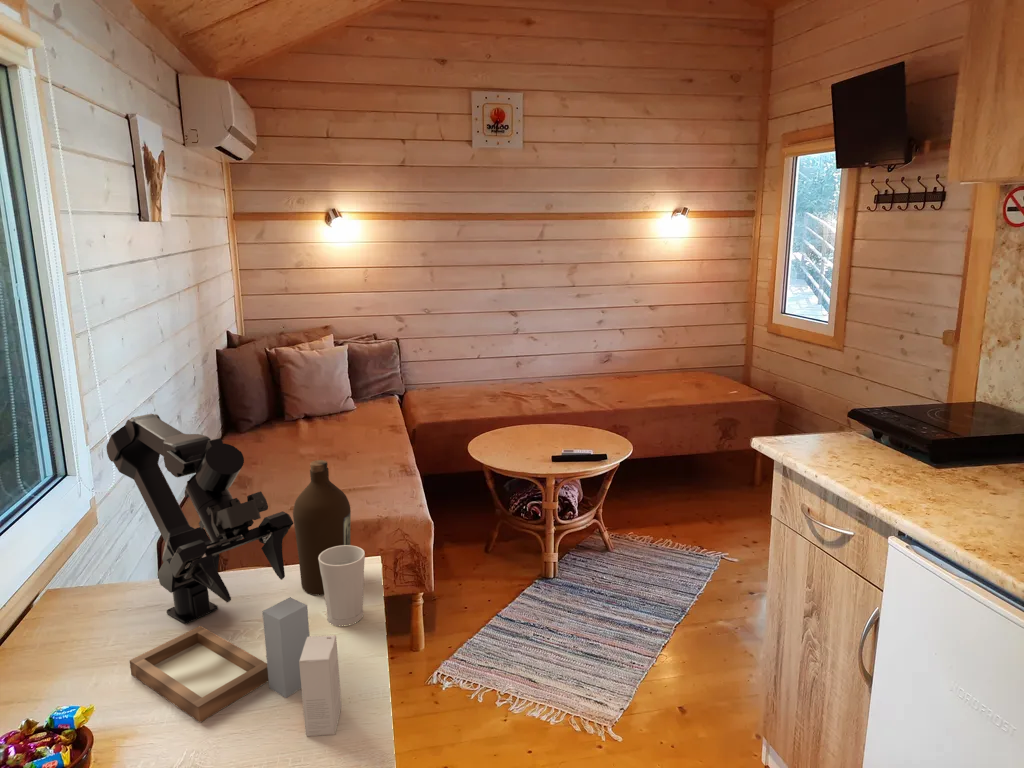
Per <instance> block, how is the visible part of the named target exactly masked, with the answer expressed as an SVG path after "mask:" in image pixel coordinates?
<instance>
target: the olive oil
mask: <svg viewBox="0 0 1024 768" xmlns="http://www.w3.org/2000/svg"><path fill="white" fill-rule="evenodd" d="M309 465H310V469H309V475H310V482H309V484H308V485H306V487H305V488H304V489H303V490H302V491H301V493H299V495H298V497H297V498H296V499H295V502H294V505H293V510H292V521H293V526H294V533H295V539H296V549H297V557H298V563H299V573H300V581H301V582H300V583H301V588H302V590H303V591H304V592H305V593H307V594H310V595H312V596H313V595H314V596H325V595H324V588H323V581H322V576H321V572H320V566H319V560H318V557H319V555H320V554H321V553H322V552H323V551H324V550H326V549H329V548H332V547H335V546H341V545H352V544H351V543H352V542H351V514H352V513H351V510H352V509H351V505H350V502H349V501H350V500H349V499H348V496H347V495H346V494H345V492H344V491H343V490H342V489H340V488H339V487H338V486H336V485H335V484H334V483H333V482H332V481H330V478H329V475H330V474H329V473H330V472H329V468H328V461H327V460H323V459H316V460H313V461H311V462H310V463H309Z"/></svg>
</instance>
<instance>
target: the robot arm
mask: <svg viewBox="0 0 1024 768" xmlns="http://www.w3.org/2000/svg"><path fill="white" fill-rule="evenodd" d="M106 454H107V458H108V459H109V461H110V462H112V463H113V464H114V466H115V467H116V469H117V470H118V473H121V474H122V475H123V476H126V477H128V478H130V479H131V480H133V481H134V483H135V484H136V487H137V488H138V491H139V493H140V495H141V496H142V499H143V501H144V502H145V505H146V507H147V508H148V509H147V510H148V511H149V513H150V515H151V516H152V519H153V520H154V523H155V525H156V527H157V528H158V531H159V532H160V533H159V534H161V537H162V539H163V541H164V547H163V552H162V557H161V560H162V562H163V563H162V564H161V566H160V568H159V570H158V571H157V577H158V580H159V585H160V586H161V587H163V588H164V589H165V590H166V591H168V592H169V593H171V594H172V597H173V598H172V599H173V607H171V608H169V609H166V614H168V615H169V616H171V617H172V618H174V619H176V620H178V621H179V622H181V623H182V624H189V623H191V622H193V621H196V620H197V619H199V618H202V617H203V616H205V615H208V614H210V613H212V612H214V611H216V610H218V608H219V607H218V606H219V605H217V604H215V603H214V602H211V601H210V595H209V590H210V591H211V592H212V593H213V594H215V595H216V596H217V597H219V598H220V599H222V600H223V601H224V602H226V603H230V602H231V600H232V596H231V594H230V593H229V589H228V588H227V586H226V585H225V583H224V581H223V579H222V577H221V575H220V574H219V572H218V571H219V563H220V562H219V561H220V554H222V553H224V552H227V551H231V550H233V549H236V548H238V547H241V546H244V545H246V544H249V543H252V542H255V541H257V540H258V542H259V543H261V544H263V546H262V547H261V549H260V550H262V552H263V554H264V555H265V556H264V557H266V559H267V561H268V562H269V564H270V566H271V568H272V570H273V571H274V573H275V574H276V576H277V577H278V579H280V580H284V579H285V577H286V574H285V565H284V557H283V556H284V555H283V539H284V537H286V535H287V534H288V532H289V530H290V529H291V527H292V526H294V520H293V518H292V517H291V515H290V514H289V513H288V512H285V511H279V512H277V513H273V514H270V515H268V516H265V517H264V518H263V519H262V521H261V522H260V524H259V525H258V526H256V527H253V528H250V527H252V526H253V524H255V523H254V521H257V520H259V519H261V513H263V512H265V511H267V510H268V509H269V504H268V503H267V499H266V497H265V496H264V494H263V492H262V491H258V492H254V493H251V494H249V495H247V496H246V497H247V498H246V499H247V501H245V502H242V503H241V501H240V499H238V497H235V498H234V497H233V495H232V494H231V492H230V490H229V488H231V487H232V486H233V484H234V482H235V480H236V478H238V477H237V476H238V475H239V473H240V471H241V470H242V468H243V466H244V463H245V457H244V454H243V452H242V451H241V450H239V449H238V447H235V446H234V445H231V444H229V443H224V442H223V440H222V438H221V437H218V438H215V439H211V438H210V437H209V436H208V435H203V434H199V433H183V432H182V431H181V430H179V429H177V428H175V427H173V426H172V425H171V424H168V422H165V421H164V420H162V419H161V417H160V416H159V415H158V413H148V414H143V415H142V414H141V415H137V416H131V417H130V418H129V419H127V420H126V422H125V424H124V425H123V426H121V427H120V428H119V429H118V430H116V431H115V432H113V433H112V434H111V435H110V436H109V439H108V442H107V443H106ZM161 456H162V457H163V461H164V467H165V469H166V470H167V471H168V472H169V473H170V474H171V475H172V476H174V477H175V478H177V479H178V478H181V477H182V478H183V477H185V476H189V475H192V476H191V477H190V478H189V479H188V480H187V481H186V485H185V490H184V497H185V498H189V499H190V501H191V503H192V505H193V507H194V509H195V511H196V513H197V515H198V518H199V522H198V525H199V527H193V526H191V525H190V523H189V521H188V519H187V517H186V515H185V513H184V512H183V509H182V508H181V506H180V504H179V502H178V500H177V498H176V495H175V494H174V492H173V489H171V487H170V485H169V483H168V481H167V478H166V477H165V475H164V474H163V471H162V469H161V467H160V466H159V461H160V457H161ZM249 528H250V529H249Z"/></svg>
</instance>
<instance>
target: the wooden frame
mask: <svg viewBox="0 0 1024 768" xmlns="http://www.w3.org/2000/svg"><path fill="white" fill-rule="evenodd" d="M129 667H130V675H131V676H133V677H135V678H136V679H137V680H139V681H140V682H142V683H143V684H144V685H146V686H147V687H149V688H150V689H151V690H153V691H154V692H155V693H157V694H159V695H160V696H161V697H163V698H164V699H166V700H167V701H168V702H170V703H171V704H173V705H174V706H176V707H177V708H178V709H180V710H181V711H183V712H184V713H186V714H187V715H189V716H190V717H191V718H192V719H194V720H196V721H197V722H198V723H202V722H203V721H205V720H207V719H209V718H210V717H212V716H213V715H215V714H217V713H218V712H220V711H222V710H223V709H225V708H226V707H228V706H230V705H231V704H233V703H235V702H237V701H238V700H240V699H241V698H243V697H245V696H246V695H248V694H250V693H251V692H253V691H255V690H256V689H258V688H259V687H261V686H263V685H265V684H266V683H269V680H268V668H267V662H265V661H264V660H262V659H260V658H259V657H256V656H254V655H253V654H251V653H249V652H247V651H246V650H244V649H242V648H241V647H239V646H238V645H235V644H233V643H232V642H230V641H228V640H226V639H225V638H223V637H222V636H219V635H218V634H216V633H214V632H212V631H211V630H208V629H206V628H205V627H204V626H202V625H199V626H197V627H195V628H193V629H191V630H188V631H187V632H185V633H183V634H181V635H179V636H177V637H174V638H172V639H170V640H168V641H166V642H164V643H162V644H160V645H158V646H156V647H154V648H151V649H150V650H148V651H146V652H143V653H142V654H140V655H137V656H135V657H133V658H131V659H130V660H129Z"/></svg>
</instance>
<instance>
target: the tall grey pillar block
mask: <svg viewBox="0 0 1024 768" xmlns="http://www.w3.org/2000/svg"><path fill="white" fill-rule="evenodd" d="M308 611H309V609H308V604H306V603H303V602H301V601H299V600H298V599H296V598H293V597H290V596H289V597H288V598H286V599H284V600H282V601H280V602H278V603H276V604H274V605H272V606H270V607H268V608H266V609H264V610H262V622H263V632H264V644H265V654H266V655H265V657H266V663H267V668H268V680H269V681H268V688H269V689H270V690H271V691H273V692H275V693H277V694H278V695H280V696H282V697H283V698H285V699H287V698H289V697H290V696H291V695H293V694H294V693H296V692H298V691H299V690H302V689H301V677H300V665H299V661H300V658H301V655H302V651H303V648H304V645H305V642H306V639H307V637H310V628H309V627H310V623H309V614H308V613H309V612H308Z"/></svg>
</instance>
